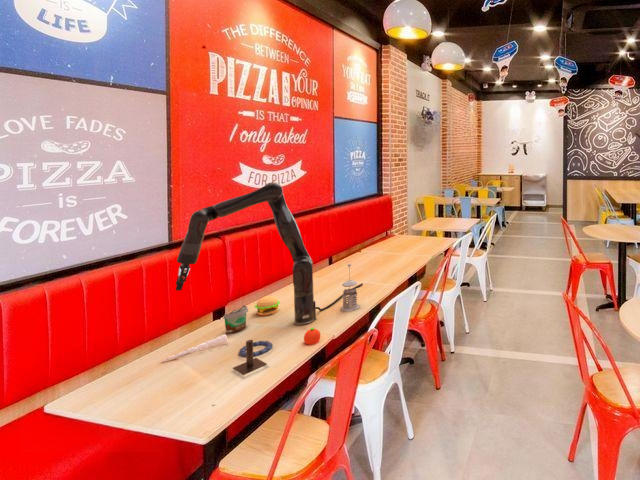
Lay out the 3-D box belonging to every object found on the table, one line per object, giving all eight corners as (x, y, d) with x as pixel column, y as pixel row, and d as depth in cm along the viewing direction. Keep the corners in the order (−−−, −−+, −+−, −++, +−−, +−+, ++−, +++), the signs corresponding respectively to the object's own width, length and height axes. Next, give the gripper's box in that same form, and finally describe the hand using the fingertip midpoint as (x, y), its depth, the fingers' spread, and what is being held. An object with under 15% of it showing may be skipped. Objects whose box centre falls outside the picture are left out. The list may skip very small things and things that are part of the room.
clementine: (304, 341, 177) (303, 326, 177) (320, 338, 180) (320, 323, 180) (303, 349, 170) (303, 333, 170) (320, 346, 172) (320, 330, 172)
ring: (263, 342, 176) (263, 337, 176) (278, 350, 169) (278, 344, 169) (233, 355, 166) (233, 349, 166) (247, 363, 159) (247, 357, 159)
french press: (362, 304, 221) (361, 261, 220) (353, 312, 209) (352, 267, 209) (345, 304, 222) (344, 261, 221) (336, 312, 210) (335, 267, 210)
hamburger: (257, 318, 204) (257, 302, 203) (253, 312, 213) (252, 296, 212) (282, 312, 211) (282, 296, 211) (276, 306, 220) (276, 291, 220)
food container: (234, 336, 184) (233, 315, 184) (223, 335, 185) (223, 314, 185) (254, 324, 196) (253, 305, 196) (244, 324, 197) (243, 304, 197)
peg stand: (256, 361, 160) (255, 333, 160) (267, 367, 155) (266, 339, 155) (232, 371, 153) (232, 342, 153) (243, 378, 148) (242, 348, 148)
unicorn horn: (160, 359, 163) (160, 348, 163) (227, 342, 177) (226, 332, 177) (159, 364, 159) (159, 352, 159) (227, 346, 174) (227, 336, 174)
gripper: (200, 256, 174) (188, 292, 172) (198, 249, 185) (187, 283, 183) (179, 254, 169) (167, 291, 167) (179, 247, 180) (168, 282, 178)
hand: (178, 287), depth 175 cm, fingers open, 8 cm apart
